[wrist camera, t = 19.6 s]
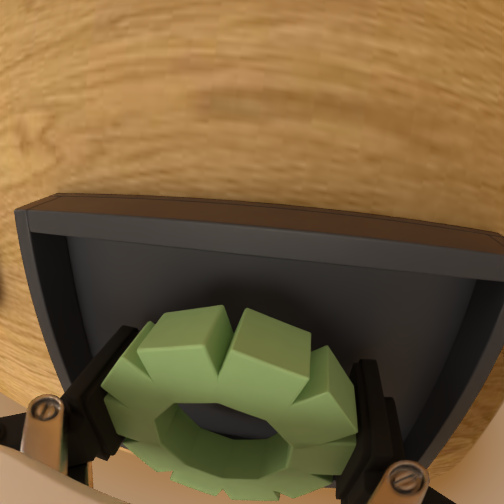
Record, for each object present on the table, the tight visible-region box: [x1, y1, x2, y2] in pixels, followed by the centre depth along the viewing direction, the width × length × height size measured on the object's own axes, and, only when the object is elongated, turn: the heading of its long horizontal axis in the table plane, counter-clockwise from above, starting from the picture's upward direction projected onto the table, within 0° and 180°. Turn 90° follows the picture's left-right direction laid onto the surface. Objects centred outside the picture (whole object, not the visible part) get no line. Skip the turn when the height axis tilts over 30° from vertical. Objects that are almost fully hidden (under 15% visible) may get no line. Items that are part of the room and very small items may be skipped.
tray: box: [14, 193, 504, 488], centre depth 11 cm, size 17×12×2 cm
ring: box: [101, 305, 358, 501], centre depth 9 cm, size 7×8×2 cm
